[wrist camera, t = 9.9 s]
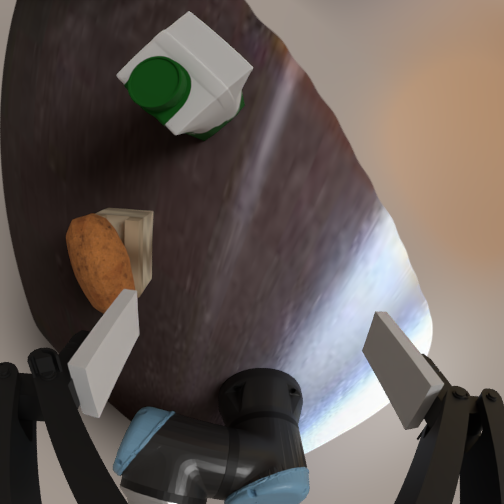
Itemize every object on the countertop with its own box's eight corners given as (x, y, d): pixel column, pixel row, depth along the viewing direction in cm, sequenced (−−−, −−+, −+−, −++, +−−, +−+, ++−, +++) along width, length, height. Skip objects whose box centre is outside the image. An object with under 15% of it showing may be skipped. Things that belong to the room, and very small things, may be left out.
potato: (126, 202, 33) (100, 214, 27) (150, 301, 37) (133, 330, 30) (77, 214, 33) (46, 227, 27) (103, 305, 37) (81, 333, 31)
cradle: (151, 278, 43) (138, 297, 37) (109, 272, 43) (91, 290, 37) (153, 211, 40) (138, 221, 34) (108, 207, 40) (87, 216, 34)
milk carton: (160, 106, 36) (95, 70, 17) (211, 61, 34) (187, -11, 15) (204, 150, 38) (169, 146, 19) (255, 105, 36) (269, 59, 17)
